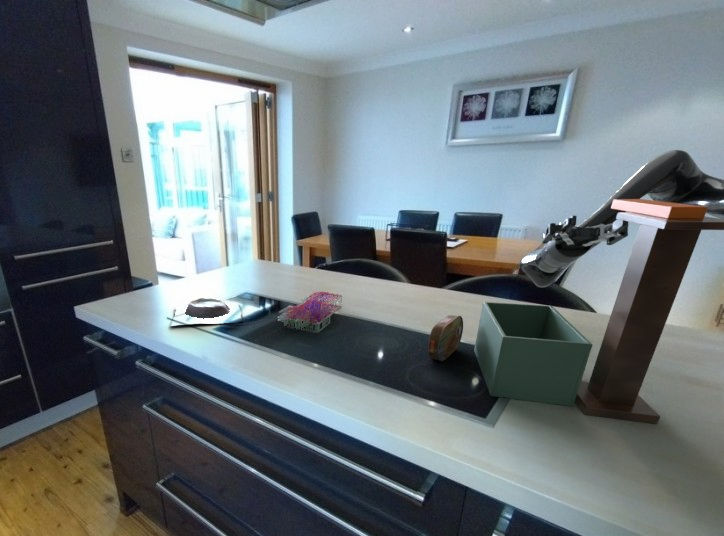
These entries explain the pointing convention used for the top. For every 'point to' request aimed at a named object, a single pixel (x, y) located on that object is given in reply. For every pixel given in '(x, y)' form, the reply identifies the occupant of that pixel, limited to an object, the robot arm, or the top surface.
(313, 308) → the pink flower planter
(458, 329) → the tin
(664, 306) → the stand
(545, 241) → the robot arm
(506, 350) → the bin
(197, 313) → the dark grey round dish
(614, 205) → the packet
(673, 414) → the top surface
